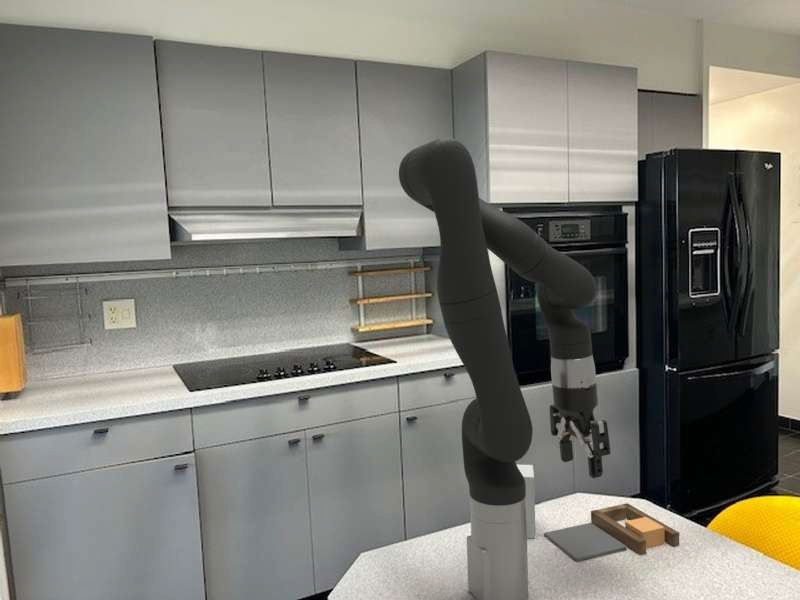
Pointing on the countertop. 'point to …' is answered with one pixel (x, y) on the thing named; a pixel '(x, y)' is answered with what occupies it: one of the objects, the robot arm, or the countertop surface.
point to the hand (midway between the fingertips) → (581, 468)
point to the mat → (584, 541)
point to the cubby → (608, 524)
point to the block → (647, 531)
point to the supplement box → (529, 498)
